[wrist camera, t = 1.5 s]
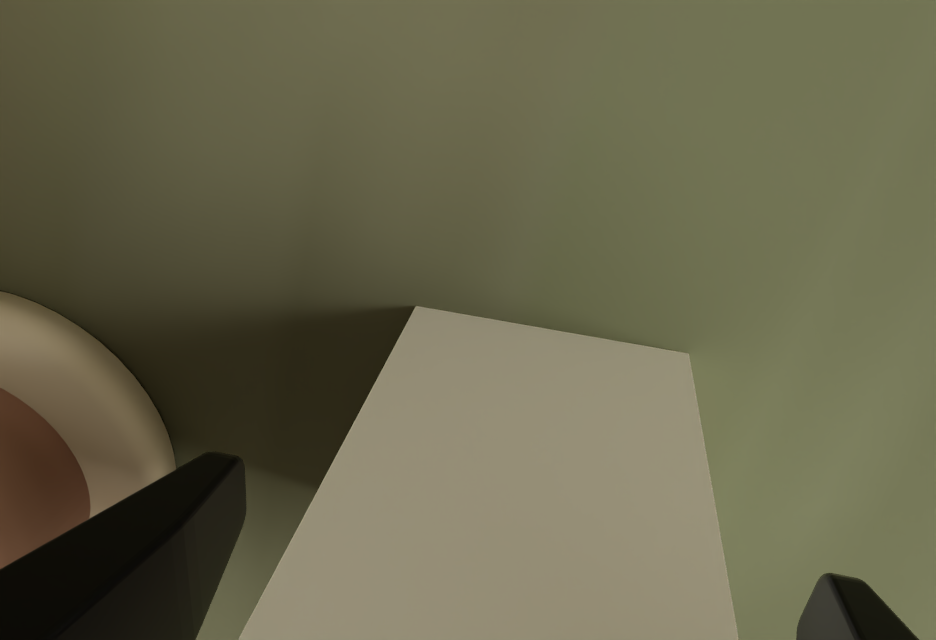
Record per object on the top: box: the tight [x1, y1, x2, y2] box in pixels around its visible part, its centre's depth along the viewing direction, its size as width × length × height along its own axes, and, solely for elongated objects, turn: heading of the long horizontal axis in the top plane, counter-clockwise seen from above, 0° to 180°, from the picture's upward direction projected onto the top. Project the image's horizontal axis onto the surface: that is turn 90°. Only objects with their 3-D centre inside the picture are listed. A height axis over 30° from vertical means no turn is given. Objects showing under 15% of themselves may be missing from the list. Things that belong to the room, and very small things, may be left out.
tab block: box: [238, 306, 739, 640], centre depth 9 cm, size 4×4×7 cm
